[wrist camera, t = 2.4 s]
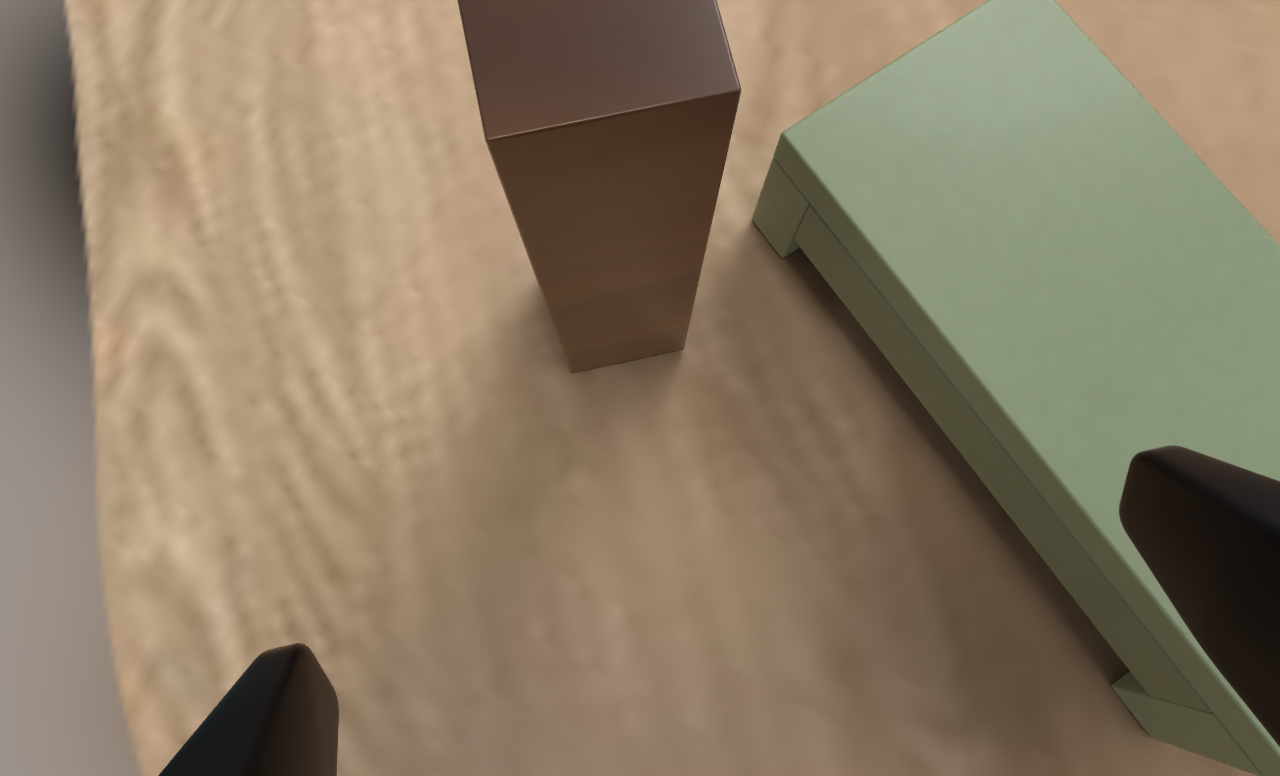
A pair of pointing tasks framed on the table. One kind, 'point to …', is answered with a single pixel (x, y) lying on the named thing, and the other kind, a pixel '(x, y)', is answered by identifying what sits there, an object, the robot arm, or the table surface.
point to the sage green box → (1052, 308)
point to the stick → (608, 157)
